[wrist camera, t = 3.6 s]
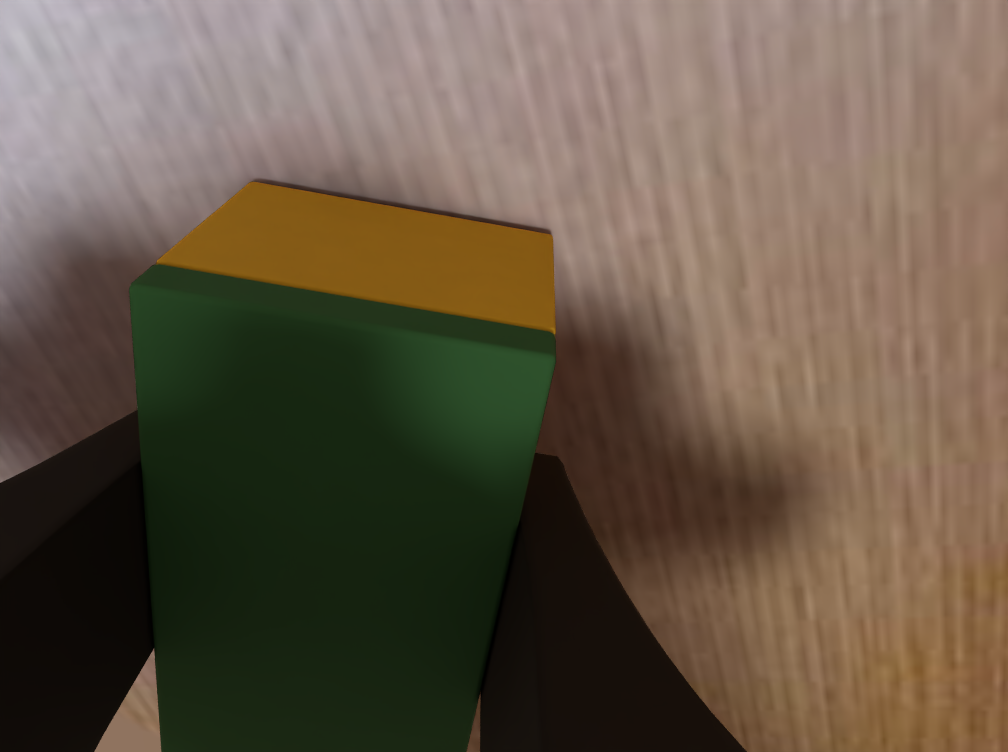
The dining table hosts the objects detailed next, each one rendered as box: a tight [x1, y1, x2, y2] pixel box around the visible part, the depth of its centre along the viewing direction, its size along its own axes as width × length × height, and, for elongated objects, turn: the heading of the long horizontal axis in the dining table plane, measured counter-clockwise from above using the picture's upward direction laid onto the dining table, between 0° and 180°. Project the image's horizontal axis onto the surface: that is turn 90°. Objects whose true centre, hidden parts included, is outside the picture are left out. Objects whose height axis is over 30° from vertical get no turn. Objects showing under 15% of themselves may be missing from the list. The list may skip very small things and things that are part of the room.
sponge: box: [129, 182, 556, 752], centre depth 10 cm, size 7×4×4 cm, turn 170°
